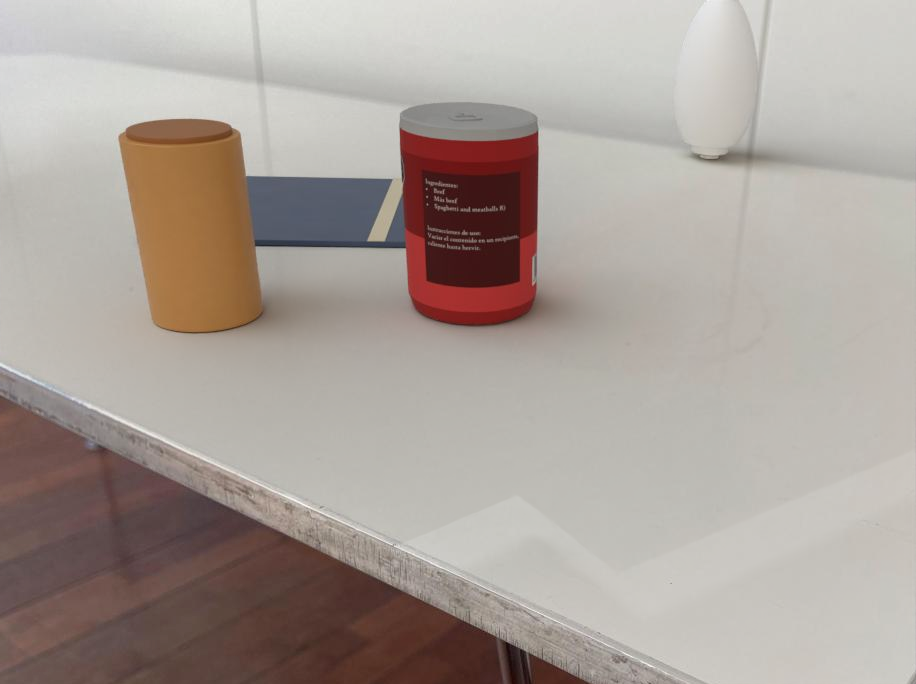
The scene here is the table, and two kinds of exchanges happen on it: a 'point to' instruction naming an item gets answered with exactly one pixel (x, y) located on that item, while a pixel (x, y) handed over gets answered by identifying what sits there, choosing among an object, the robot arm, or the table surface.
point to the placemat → (327, 211)
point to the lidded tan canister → (192, 223)
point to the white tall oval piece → (716, 79)
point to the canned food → (470, 210)
